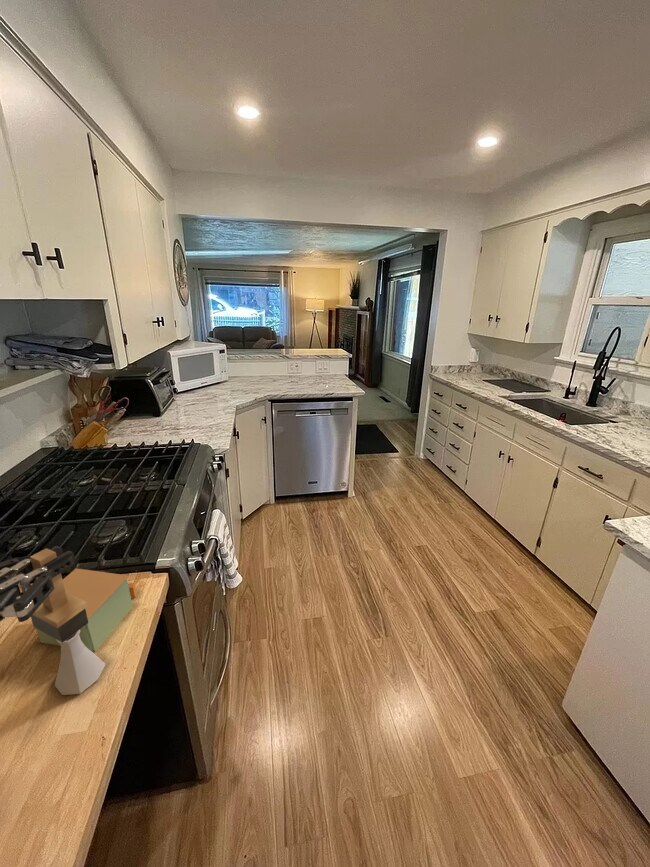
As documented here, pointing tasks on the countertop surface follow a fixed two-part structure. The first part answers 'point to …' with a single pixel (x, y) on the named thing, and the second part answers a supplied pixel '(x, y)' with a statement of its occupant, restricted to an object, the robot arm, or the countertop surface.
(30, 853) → the countertop surface
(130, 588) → the block
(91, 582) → the cabinet
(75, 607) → the brush
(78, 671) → the flask
